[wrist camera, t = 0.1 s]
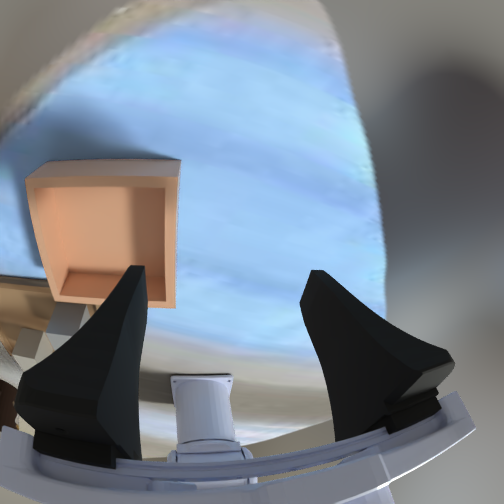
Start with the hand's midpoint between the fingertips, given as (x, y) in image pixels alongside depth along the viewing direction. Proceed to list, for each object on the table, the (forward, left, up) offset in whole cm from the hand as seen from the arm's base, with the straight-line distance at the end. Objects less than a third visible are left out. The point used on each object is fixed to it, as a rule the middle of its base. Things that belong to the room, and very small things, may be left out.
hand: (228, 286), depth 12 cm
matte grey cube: (-13, +13, -10) cm, 21 cm away
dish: (-3, +8, -10) cm, 13 cm away
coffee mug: (-36, +36, -10) cm, 51 cm away
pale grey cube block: (-18, +20, -10) cm, 29 cm away
